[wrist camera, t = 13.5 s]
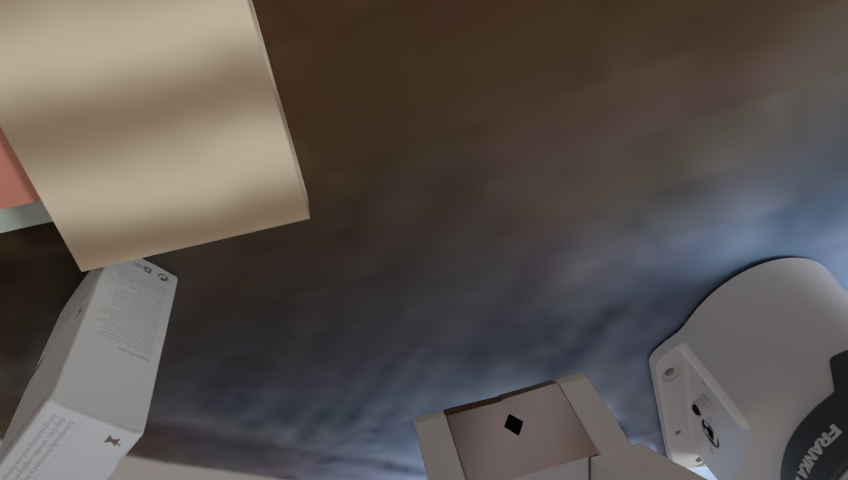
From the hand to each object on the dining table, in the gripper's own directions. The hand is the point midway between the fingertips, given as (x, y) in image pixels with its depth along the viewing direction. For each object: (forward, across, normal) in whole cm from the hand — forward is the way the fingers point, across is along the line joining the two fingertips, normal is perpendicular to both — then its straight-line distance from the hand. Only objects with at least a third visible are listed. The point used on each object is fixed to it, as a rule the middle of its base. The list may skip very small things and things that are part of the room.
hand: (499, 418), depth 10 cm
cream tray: (+25, +10, 0) cm, 27 cm away
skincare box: (+25, +16, +11) cm, 32 cm away
